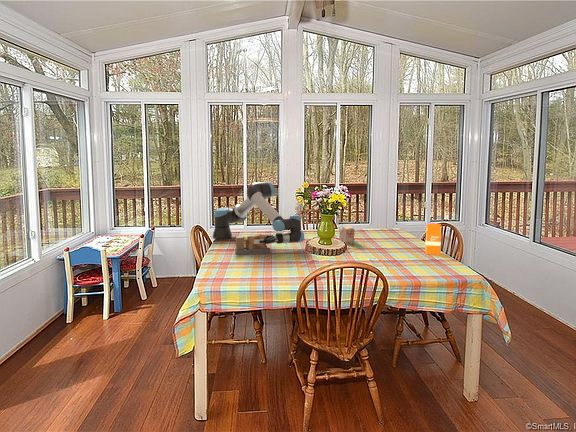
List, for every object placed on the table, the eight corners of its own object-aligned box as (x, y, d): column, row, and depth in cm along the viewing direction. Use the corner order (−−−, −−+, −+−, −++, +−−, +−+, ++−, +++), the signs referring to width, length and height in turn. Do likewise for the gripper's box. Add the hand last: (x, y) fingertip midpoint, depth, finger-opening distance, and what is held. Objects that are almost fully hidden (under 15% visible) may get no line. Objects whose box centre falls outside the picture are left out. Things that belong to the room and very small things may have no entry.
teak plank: (246, 251, 305) (246, 237, 303) (245, 250, 309) (245, 236, 307) (266, 250, 309) (266, 236, 307) (264, 249, 313) (264, 234, 311)
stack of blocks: (339, 239, 351) (339, 223, 349) (347, 239, 351) (347, 223, 349) (345, 245, 330) (346, 228, 328) (354, 245, 330) (354, 228, 328)
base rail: (237, 255, 301) (237, 238, 299) (235, 252, 309) (234, 236, 308) (269, 252, 307) (269, 236, 305) (266, 249, 316) (266, 234, 314)
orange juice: (440, 254, 300) (441, 224, 297) (426, 254, 302) (427, 224, 299) (438, 251, 308) (440, 222, 305) (425, 251, 310) (426, 222, 307)
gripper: (287, 247, 302) (256, 249, 296) (277, 239, 325) (248, 241, 319) (287, 235, 301) (256, 237, 294) (277, 229, 324) (247, 231, 318)
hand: (251, 239), depth 307 cm, fingers open, 13 cm apart
